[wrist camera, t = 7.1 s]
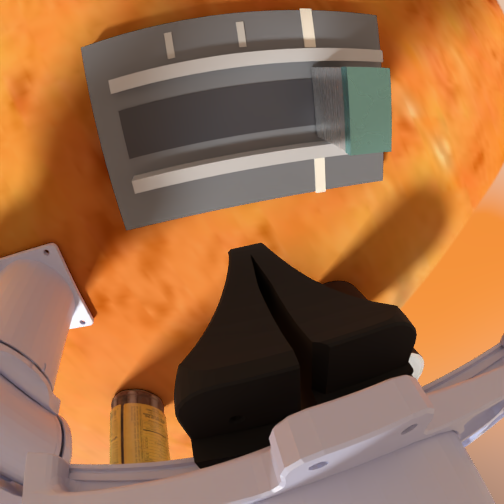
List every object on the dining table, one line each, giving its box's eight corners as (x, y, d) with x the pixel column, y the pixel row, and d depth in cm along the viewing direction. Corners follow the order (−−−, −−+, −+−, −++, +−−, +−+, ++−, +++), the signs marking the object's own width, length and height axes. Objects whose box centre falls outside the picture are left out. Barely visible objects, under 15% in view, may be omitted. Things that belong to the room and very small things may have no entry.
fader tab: (316, 136, 19) (351, 155, 15) (310, 66, 16) (346, 66, 12) (351, 133, 19) (391, 151, 15) (347, 66, 17) (389, 68, 13)
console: (129, 221, 21) (124, 239, 19) (87, 48, 14) (75, 44, 12) (372, 175, 23) (389, 186, 21) (364, 16, 16) (384, 12, 14)
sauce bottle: (129, 418, 33) (137, 570, 16) (101, 392, 29) (99, 566, 13) (175, 409, 33) (197, 570, 17) (151, 381, 30) (166, 571, 13)
